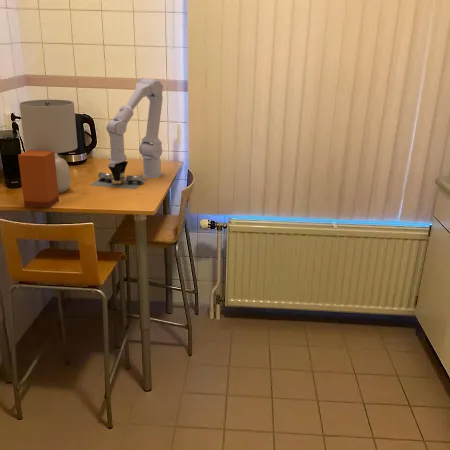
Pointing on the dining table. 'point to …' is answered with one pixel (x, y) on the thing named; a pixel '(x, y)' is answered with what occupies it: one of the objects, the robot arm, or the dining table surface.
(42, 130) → the lamp
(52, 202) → the tall terracotta brick
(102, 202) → the dining table surface
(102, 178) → the shaft
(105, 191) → the dining table surface
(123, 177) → the tan rectangular block
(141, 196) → the dining table surface
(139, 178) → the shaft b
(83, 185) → the dining table surface
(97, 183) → the mat
